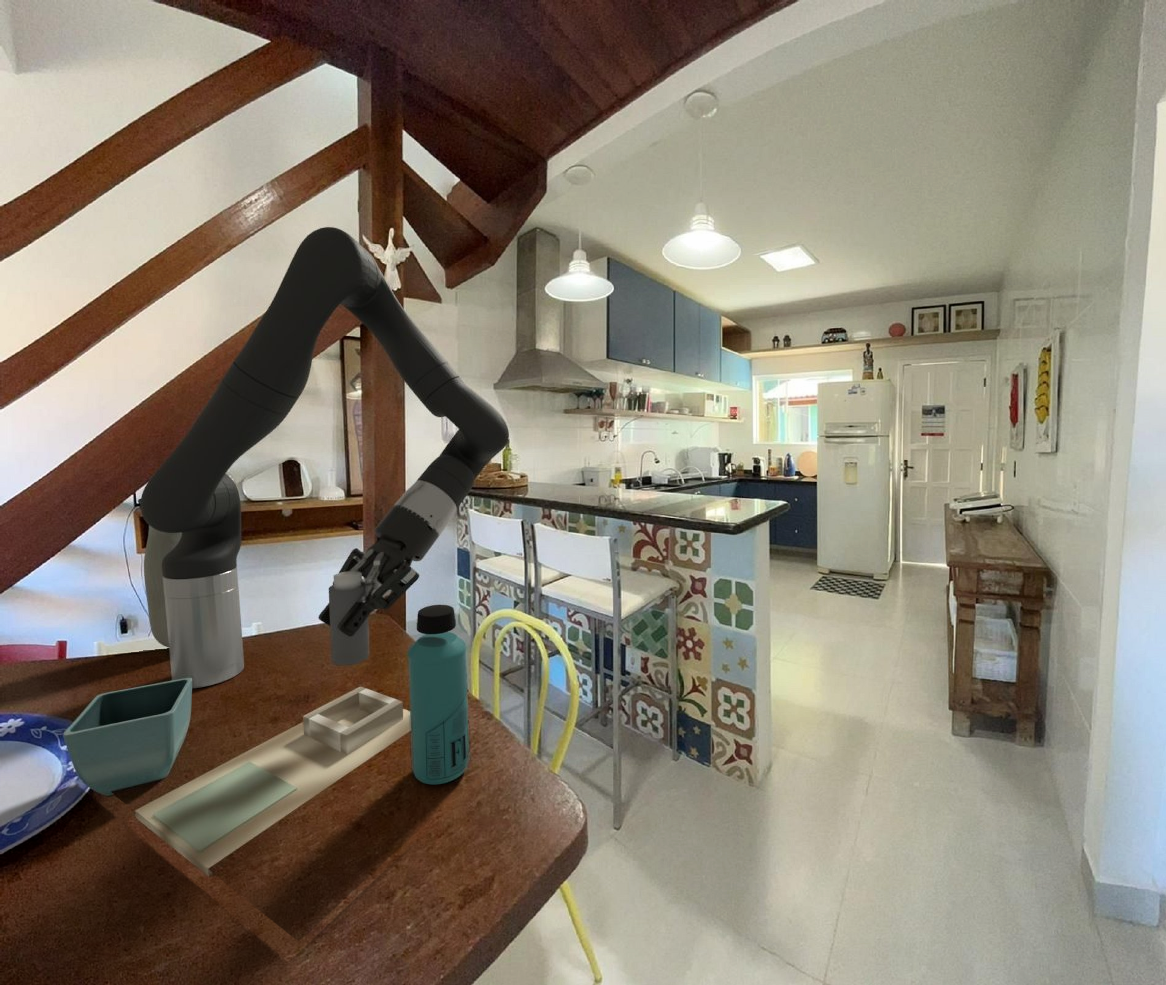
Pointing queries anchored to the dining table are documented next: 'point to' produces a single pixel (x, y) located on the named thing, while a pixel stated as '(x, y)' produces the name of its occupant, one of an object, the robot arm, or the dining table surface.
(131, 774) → the flower pot
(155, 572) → the grey tall rounded piece
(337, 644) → the grey capped cylinder
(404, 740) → the dining table surface
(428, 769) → the beverage bottle
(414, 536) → the robot arm
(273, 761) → the cream tray
